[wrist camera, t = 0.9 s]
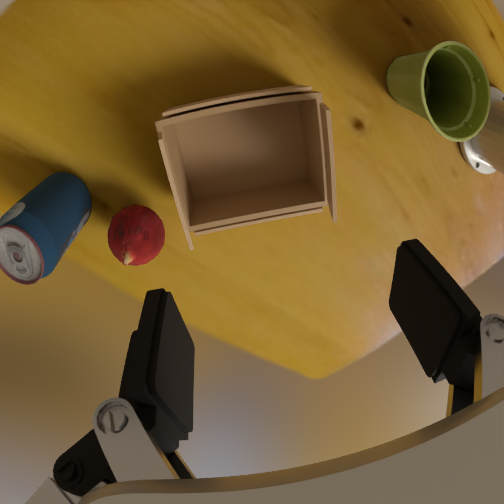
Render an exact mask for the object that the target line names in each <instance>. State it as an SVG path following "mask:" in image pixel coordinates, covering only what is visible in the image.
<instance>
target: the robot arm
mask: <svg viewBox="0 0 504 504" xmlns="http://www.w3.org/2000/svg"><path fill="white" fill-rule="evenodd" d="M490 92H491V100H490V109H489V114H488V117H487V120H486V122H485V124H484V126H483V127H482V129H481V130H480V131H479V132H478V133H477V135H476V136H474V137H473V138H471V139H469V140H466V141H462V142H459V143H460V148H461V151H462V154H463V157H464V159H465V161H466V162H467V163H468V165H469V166H470V167H471V168H473V169H474V170H475V171H477V172H479V173H482V174H491V173H493V172H495V171H499V172H501V173H502V174H504V93H503V92H502V91H500V90H499V89H497V88H495V87H492V86H490ZM389 307H390V310H391V311H392V313H393V315H394V317H395V318H396V320H397V322H398V324H399V325H400V327H401V329H402V331H403V332H404V334H405V336H406V338H407V339H408V341H409V343H410V345H411V347H412V349H413V350H414V352H415V354H416V356H417V358H418V360H419V362H420V364H421V365H422V367H423V369H424V371H425V373H426V375H427V376H428V377H432V379H433V381H434V383H437V382H439V381H441V380H443V379H447V381H448V383H449V393H448V402H447V411H446V418H444V419H442V420H440V421H438V422H436V423H434V424H432V425H429V426H427V427H425V428H423V429H420V430H418V431H415V432H413V433H411V434H408V435H405V436H403V437H400V438H398V439H395V440H393V441H390V442H387V443H384V444H381V445H378V446H375V447H372V448H369V449H366V450H363V451H360V452H356V453H353V454H350V455H346V456H342V457H339V458H335V459H331V460H327V461H323V462H319V463H314V464H310V465H305V466H300V467H295V468H290V469H284V470H279V471H272V472H265V473H258V474H250V475H240V476H230V477H217V478H200V479H197V478H196V477H195V476H194V474H193V473H192V472H191V470H190V469H189V467H188V466H187V465H186V463H185V462H184V460H183V459H182V458H181V456H180V455H179V453H178V452H177V450H176V449H177V448H178V447H179V440H188V432H192V430H193V387H194V350H195V349H194V344H193V341H192V339H191V336H190V334H189V332H188V330H187V328H186V326H185V323H184V321H183V319H182V317H181V314H180V312H179V310H178V308H177V305H176V303H175V301H174V299H173V296H172V294H171V292H166V291H165V290H164V289H163V288H161V289H155V290H150V291H147V293H146V296H145V300H144V304H143V308H142V313H141V317H140V321H139V326H138V330H136V331H134V332H133V333H132V335H131V339H130V343H129V348H128V352H127V357H126V361H125V366H124V371H123V376H122V381H121V386H120V392H119V397H118V398H110V399H107V400H105V401H104V402H102V403H101V404H100V405H99V406H98V407H97V409H96V410H95V412H94V415H93V421H92V423H93V428H94V429H93V430H91V431H90V432H89V433H88V434H86V435H85V436H84V437H83V438H82V439H80V440H79V441H78V442H77V443H76V444H74V445H73V446H72V447H71V448H69V449H68V450H67V451H66V452H65V453H63V454H62V455H61V456H60V457H59V458H58V459H57V460H56V463H55V464H54V469H53V475H54V477H53V478H50V477H48V478H47V479H46V481H45V482H44V483H43V484H42V485H41V486H40V487H39V488H38V490H37V491H36V492H35V493H34V494H33V495H32V496H31V498H30V499H29V500H28V501H27V502H26V503H25V504H504V317H503V316H501V315H498V314H489V315H486V316H485V317H484V318H483V319H482V318H481V316H480V311H479V310H478V309H477V307H476V306H475V305H474V304H473V302H472V301H471V300H470V299H469V297H468V296H467V295H466V294H465V292H464V291H463V290H462V289H461V287H460V286H459V285H458V284H457V283H456V281H455V280H454V279H453V278H452V277H451V276H450V274H449V273H448V272H447V271H446V270H445V269H444V267H443V266H442V265H441V264H440V263H439V262H438V261H437V260H436V258H435V257H434V256H433V255H432V254H431V253H430V252H429V251H428V250H427V249H426V248H425V246H424V245H423V244H422V243H421V242H420V241H419V240H418V239H412V240H407V241H403V242H402V243H401V245H400V246H399V247H398V248H397V254H396V261H395V268H394V274H393V281H392V286H391V292H390V298H389Z"/></svg>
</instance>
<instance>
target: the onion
mask: <svg viewBox="0 0 504 504" xmlns="http://www.w3.org/2000/svg"><path fill="white" fill-rule="evenodd" d="M164 239H165V229H164V226H163V223H162V220H161V219H160V218H159V216H158V215H157V214H156V213H155V212H154V211H153V210H151V209H149V208H148V207H145V206H140V205H132V206H128V207H124V208H123V209H122V210H121V211H120V212H118V213H117V214H116V215H115V216H114V217H113V219H112V221H111V223H110V226H109V229H108V244H109V247H110V249H111V251H112V253H113V255H114V256H115V257H116V258H117V259H118V260H119V261H120V262H122V264H124V265H135V266H137V265H142V264H146V263H148V262H149V261H151V260H152V259H154V258H155V257H156V256H157V255H158V254H159V252H160V250H161V249H162V247H163V245H164Z"/></svg>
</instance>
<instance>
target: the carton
mask: <svg viewBox="0 0 504 504" xmlns="http://www.w3.org/2000/svg"><path fill="white" fill-rule="evenodd" d="M311 90H312V87H311V86H304V85H295V86H285V87H277V88H269V89H262V90H255V91H249V92H243V93H237V94H231V95H226V96H221V97H216V98H211V99H206V100H202V101H197V102H193V103H189V104H184V105H180V106H176V107H173V108H169V109H167V110H166V111H164V112H163V113H162V117H161V118H160V119H158V120H157V121H156V122H155V126H156V130H157V132H161V133H162V137H163V140H164V144H165V148H166V152H167V156H168V159H169V163H170V167H171V171H172V174H173V178H174V181H175V185H176V189H177V192H178V196H179V199H180V202H181V206H182V209H183V213H184V216H185V219H186V223H187V226H188V230H189V232H191V231H194V234H195V236H197V235H201V234H206V233H211V232H216V231H221V230H226V229H231V228H236V227H242V226H247V225H252V224H257V223H262V222H268V221H273V220H278V219H284V218H289V217H295V216H300V215H306V214H311V213H317V212H322V211H323V208H322V206H328V201H327V187H326V172H325V158H324V146H323V135H322V124H321V115H320V106H319V103H323V102H322V94H321V92H316V91H311Z"/></svg>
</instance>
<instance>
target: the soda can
mask: <svg viewBox="0 0 504 504" xmlns="http://www.w3.org/2000/svg"><path fill="white" fill-rule="evenodd" d="M91 208H92V203H91V197H90V193H89V191H88V189H87V187H86V185H85V184H84V182H83V181H82V180H81V179H79V178H78V177H76V176H75V175H73V174H70V173H66V172H58V173H54V174H52V175H50V176H49V177H47V178H46V179H45V180H44V181H42V182H41V183H40V184H39V185H37V186H36V187H35V188H34V189H32V190H31V191H30V192H29V193H28V194H26V195H25V196H24V197H23V198H22V199H21V200H19V201H18V202H17V203H16V204H15V205H14V206H13V207H11V208H10V209H9V210H8V211H7V212H6V213H5V214H4V215H3V216H2V217H1V219H0V268H1V269H2V271H3V272H4V273H5V274H6V275H8V277H10V278H11V279H12V280H14V281H16V282H18V283H21V284H25V285H29V284H34V283H36V282H37V281H38V280H39V279H41V278H43V277H46V276H48V275H49V274H50V273H51V272H52V271H53V270H54V268H55V267H56V265H57V263H58V262H59V261H60V259H61V258H62V256H63V255H64V253H65V252H66V250H67V249H68V247H69V246H70V244H71V243H72V241H73V240H74V239H75V237H76V236H77V234H78V233H79V232H80V230H81V229H82V227H83V226H84V225H85V223H86V222H87V221H88V219H89V217H90V214H91Z"/></svg>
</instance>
